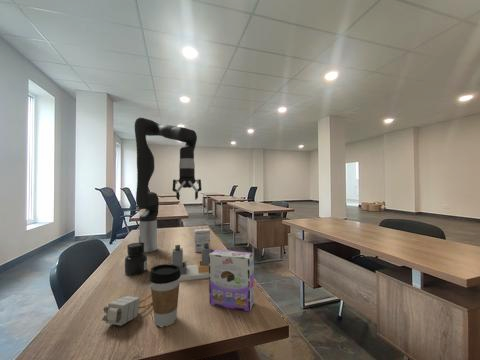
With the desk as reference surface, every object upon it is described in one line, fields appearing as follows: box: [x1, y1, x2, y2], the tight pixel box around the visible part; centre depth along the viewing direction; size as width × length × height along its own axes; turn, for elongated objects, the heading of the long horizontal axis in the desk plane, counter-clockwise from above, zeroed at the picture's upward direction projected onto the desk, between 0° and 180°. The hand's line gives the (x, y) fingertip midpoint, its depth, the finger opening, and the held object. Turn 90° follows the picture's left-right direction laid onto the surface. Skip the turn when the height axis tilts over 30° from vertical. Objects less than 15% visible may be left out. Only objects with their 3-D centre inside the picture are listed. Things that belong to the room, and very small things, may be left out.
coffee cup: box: [149, 263, 181, 327], centre depth 64 cm, size 8×8×15 cm
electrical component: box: [101, 294, 153, 326], centre depth 71 cm, size 24×6×5 cm, turn 165°
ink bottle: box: [124, 241, 148, 277], centre depth 98 cm, size 10×9×12 cm
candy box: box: [208, 249, 255, 312], centre depth 72 cm, size 14×6×16 cm, turn 71°
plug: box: [200, 243, 212, 266], centre depth 97 cm, size 4×4×11 cm
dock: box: [169, 244, 209, 282], centre depth 96 cm, size 23×12×12 cm, turn 103°
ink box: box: [193, 228, 211, 253], centre depth 127 cm, size 8×5×12 cm, turn 106°
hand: (187, 199), depth 114 cm, fingers open, 8 cm apart
